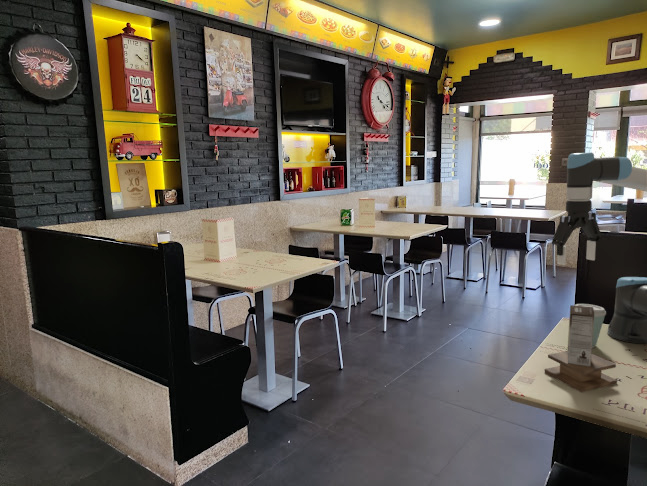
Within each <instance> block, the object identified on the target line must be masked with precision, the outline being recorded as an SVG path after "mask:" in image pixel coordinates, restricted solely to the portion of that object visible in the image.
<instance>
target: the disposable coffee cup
mask: <svg viewBox="0 0 647 486" xmlns="http://www.w3.org/2000/svg"><path fill="white" fill-rule="evenodd" d="M574 306H584V307H593V309H594V329H593V341H592V349H593V348H595V347H596V345H597V343H598V339H599V337H600V334H601V329H602V327H603V323H604V320H605V317H606V315H607V311H606V309H605V308H604V307H602V306H599V305H595V304H589V303H576V304H574Z"/></svg>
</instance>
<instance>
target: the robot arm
mask: <svg viewBox="0 0 647 486" xmlns="http://www.w3.org/2000/svg"><path fill="white" fill-rule="evenodd" d="M566 165H567V166H566V169H567V170H566V201H565V211H566V212H567V215H560V216H559V223H558V225H557V228H556V230H555V233H554V235H553V238H552V240H551V244H552V245H555V246H556V255H557V257H556V259H557V262H556V265H561V266H566V264H567V246H566V245H565V244H567V242H568V239H569V238H570V237H571V235H572V234H573V232H574V231H575V230H576V229H579V228H581V229H582V231H583V232H584V234H585V235H586V237H587V239H588V240H587V241H586V256H585V258H586V260H589V261H595V260H596V250H597V242H600V240H601V239H602V234H601V230H600V227H599V225H598V221H597V213H596V212H591V211H592V205H593V201H592V199H593V183H594V182H598V183H603V184H608V185H613V186H618V187H623V188H628V189H632V190H638V191H642V192H647V169H646V168H642V167H637V166H633V164H632V161H631V159H630V158H629V157H626V156H611V157H610V156H609V157H595V155H594V152H576V153H570V154H569V155H568V158H567V164H566ZM614 299H615V302H614V312H613V315H612V318H611V320H610V322H609V324H608V326H607V331H606V332H607V335H608V336H610V337H611V338H612V339H615V340H618V341H622V342H625V343H627V342H628V343H633V344H647V277H642V276H640V277H639V276H623V277H619V278H618V279H617V282H616V286H615V298H614Z"/></svg>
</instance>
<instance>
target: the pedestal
mask: <svg viewBox="0 0 647 486" xmlns="http://www.w3.org/2000/svg"><path fill="white" fill-rule="evenodd" d="M547 359H550V360H552V361H554V362H556V363H558V364H559V365H557V366H553V367H548V368H545V369H544V373H545V374H546V375H548V376H551V378H554V379H556V380H558V381H559V382H562V383H563V384H565V385H567V386H569V387H571V388H573V389H575V390H576V391H578V392H581V393H584V392H589V391H592V390H597V389H600V388H601V389H602V388H605V387H609V386H615V385H617V384H618V379H615V378H614V377H611V376H609V375H607V374H605V373H603V372H602V371H605V370H609V369H610V370H611V369H614V368H616V367H617V366H616V365H617V364H616V363H614V362H612V361H610V360H607V359H605V358H602V357H600V356H597V355H595V354H593V353H592V354H591V366H583V365H576V364H570V363H568V350H565V351H560V352H555V353H548V354H547Z"/></svg>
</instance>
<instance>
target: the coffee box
mask: <svg viewBox="0 0 647 486" xmlns="http://www.w3.org/2000/svg"><path fill="white" fill-rule="evenodd" d="M568 320H569V322H568V323H569V324H568V335H567V337H568V338H567V351H568V363H570V364H576V365H583V366H591V354H593V351H592V350H593V348H592V341H593V329H594V309H593V307H584V306H575V305H573V304H572V305H571V304H570V307H569V319H568Z"/></svg>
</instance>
